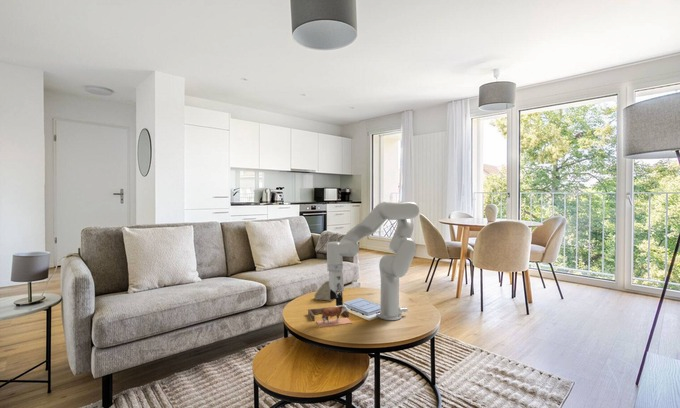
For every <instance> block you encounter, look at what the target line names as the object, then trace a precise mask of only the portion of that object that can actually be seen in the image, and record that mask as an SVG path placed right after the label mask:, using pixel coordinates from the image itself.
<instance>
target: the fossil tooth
mask: <svg viewBox="0 0 680 408" xmlns="http://www.w3.org/2000/svg"><path fill="white" fill-rule="evenodd" d="M337 291H339V290H337ZM314 300H316V301H317V300H322V301H328V302H332V301H334V299H332V300H331V299H330V287H329V280H326V281H324V283H323V284H322V285H321V286H320V287H319V288H318V290H317V291H316V292H315V294H314Z"/></svg>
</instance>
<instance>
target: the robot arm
mask: <svg viewBox="0 0 680 408" xmlns="http://www.w3.org/2000/svg"><path fill="white" fill-rule="evenodd" d="M419 213H420V207H419V206H418V204H417V203H416V202H413V201H399V202H386V201H385V202H384V201H383V202H380V203H378V204H376V206H375V207H374V208H373V209H372V210H371V211H370V212H369V213H368V214H367V216H365V218H363V219H362V221H361V222H359V223H357V224H356V225H355V226H354V227H352V228H351V229H350V230H349V231H348V232H346V233H345V235H343V237H342V238H341V239H340V240H339V241H329V242H327V244H326V262H327V263H326V265H327V266H326V268H327V272H328V281H329V287H330V299H331V300H332V299H333V300H335V306H340V305H343V304H344V301H343V292H344V291H345V285H344V275H343V271H344V269H343V265H344V263H343V257H350V258H351V257H354V256H357V254H358V253H359V251H360V247H359V244H358V243H359V241H360V240H362V239H363V238H366V237H368V236H372V235H373V234H375V233H376V232H377V231H378V229H380V227H381V226H382V225H383V224H384V223H385V222H386V221H387V220H389V221H397V222H396V223H397V225H396V228H395V230H394V232H393V236H392V237H391V240H390V242H389V246H388V247H389V250H390V251H391V252H392V253H394V254H385V255H383V256H382V257H381V258H380V259H379V265H378V267H379V273H380V293H379V294H380V298H379V299H380V302H379V303H380V304H379V305H380V307H379V308H380V310H379V311H380V314H378V316H377V317H378V318H379V319H382V320H384V321H385V320H386V321H398V320H401V319H402V318H403V314H402V313H407V312H408V308H407V307H403V306H400V278H402V277H404V276H406V274H407V273H408V271H409V269H410V267H411V264H412V263H413V259H414V257H415V254H416V251H417V245H416V242H415V241H414V239H412V238H411V237H412V235H413V231H414V227H415V226H414V219H415V218H417V216H418V215H419ZM337 290H338V291H337ZM333 300H332V301H333Z"/></svg>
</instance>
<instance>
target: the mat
mask: <svg viewBox="0 0 680 408" xmlns="http://www.w3.org/2000/svg"><path fill="white" fill-rule="evenodd" d="M339 319H340V320H338V321H339V322H337V321H336V320H337V318H329V319H328V320H329V321H330V324H329V323H328V322H327V320H326V321H325V322H323V320H316V324H317V325H318V326H319V328H324V327H332V326H344V325H350V324H351V325H352V323H353V322H352V321H351V320H350V319H349V317H341V318H340V317H339Z"/></svg>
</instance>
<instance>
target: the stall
mask: <svg viewBox="0 0 680 408" xmlns="http://www.w3.org/2000/svg"><path fill="white" fill-rule="evenodd" d="M331 307H332V306H330V307H329V306H328V307H326V308H331ZM324 308H325V307H319V308H309V309H307V314H308V317H310V319H311V321H312V322H315V318H316V317H315V315H319V314H321V315H322V313H321V311H322V309H324ZM342 314H343V315H345V316H346V317H345V318H349V317H350V312H349V310H347V311H344V312H343V313H342Z"/></svg>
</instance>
